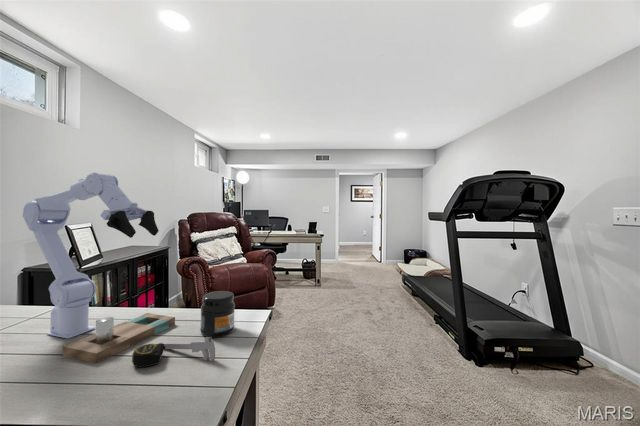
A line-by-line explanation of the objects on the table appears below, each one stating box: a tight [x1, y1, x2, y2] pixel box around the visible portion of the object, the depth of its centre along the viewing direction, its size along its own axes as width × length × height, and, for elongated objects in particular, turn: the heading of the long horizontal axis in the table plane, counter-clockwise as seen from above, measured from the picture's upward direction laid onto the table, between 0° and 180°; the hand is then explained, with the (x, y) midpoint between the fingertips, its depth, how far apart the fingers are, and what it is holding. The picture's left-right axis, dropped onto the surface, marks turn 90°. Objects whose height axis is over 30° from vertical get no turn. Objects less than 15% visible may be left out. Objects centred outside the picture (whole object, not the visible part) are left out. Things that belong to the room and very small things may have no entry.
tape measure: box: [131, 342, 166, 368], centre depth 72 cm, size 7×7×4 cm
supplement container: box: [200, 290, 236, 338], centre depth 92 cm, size 10×10×12 cm
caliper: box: [160, 336, 216, 363], centre depth 77 cm, size 21×1×6 cm, turn 69°
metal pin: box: [95, 316, 115, 345], centre depth 79 cm, size 4×4×8 cm
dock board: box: [62, 312, 176, 364], centre depth 85 cm, size 12×26×2 cm, turn 164°
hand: (145, 234), depth 81 cm, fingers open, 7 cm apart
